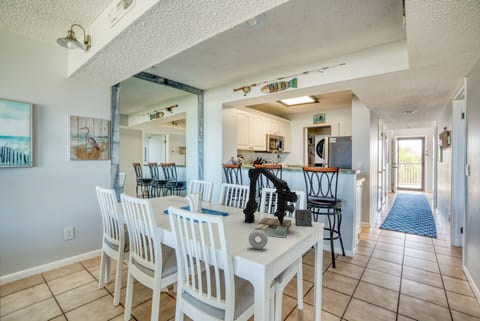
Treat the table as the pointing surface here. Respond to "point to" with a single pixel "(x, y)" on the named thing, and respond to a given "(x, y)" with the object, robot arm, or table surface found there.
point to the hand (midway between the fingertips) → (281, 224)
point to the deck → (275, 223)
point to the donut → (260, 234)
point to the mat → (272, 233)
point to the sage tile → (281, 229)
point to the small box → (303, 217)
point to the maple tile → (262, 227)
